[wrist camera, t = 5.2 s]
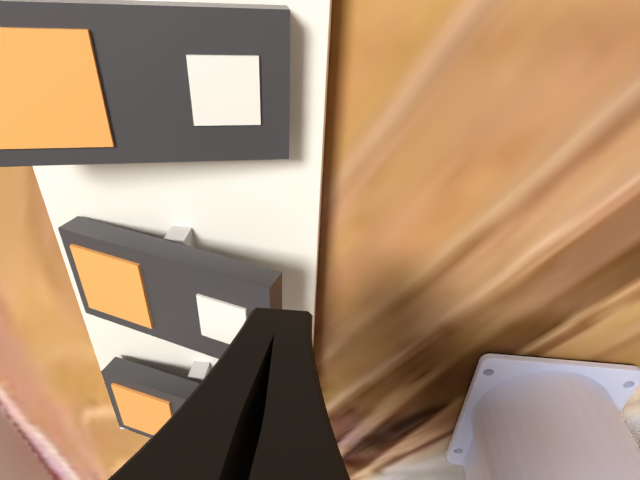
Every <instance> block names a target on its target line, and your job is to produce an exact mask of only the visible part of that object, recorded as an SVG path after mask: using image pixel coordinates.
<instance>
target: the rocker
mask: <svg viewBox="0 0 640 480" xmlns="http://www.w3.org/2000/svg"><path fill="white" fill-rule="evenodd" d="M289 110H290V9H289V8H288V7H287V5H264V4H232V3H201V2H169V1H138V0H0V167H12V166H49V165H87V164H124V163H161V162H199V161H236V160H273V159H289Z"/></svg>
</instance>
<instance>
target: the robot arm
mask: <svg viewBox="0 0 640 480" xmlns="http://www.w3.org/2000/svg"><path fill="white" fill-rule="evenodd" d="M312 317H313V315H312V314H310V313H309V312H308V311H299V310H284V309H270V308H255V309H254V310H252V311H251V313H250V315H249V316H248V318H247V320H246V321H245V323H244V324H243V326H242V327H241V329H240V330H239V332H238V333H237V335H236V336H235V338H234V339H233V341H232V342H231V343H230V345H229V346H228V348H227V349H226V351H225V352H224V353H223V355H222V356H221V357H220V359H219V360H218V361H217V362H216V364H215V365H214V366H213V368H212V369H211V370H210V372H209V373H208V374H207V376H206V377H205V378H204V379H203V381H202V382H201V383H200V384H199V385H198V387H197V388H196V389H195V390H194V391H193V392H192V394H191V395H190V396H189V397H188V398H187V399H186V401H185V402H184V403H183V404H182V405H181V406H180V408H179V409H178V410H177V411H176V412H175V413H174V414H173V416H172V417H171V418H170V419H169V420H168V421H167V422H166V423H165V424H164V425H163V426H162V427H161V428H160V430H159V431H158V432H157V433H156V434H155V435H154V436H153V437H152V438H151V439H150V440H149V441H148V442H147V443H146V444H145V445H144V446H143V447H142V448H141V449H140V450H139V451H138V452H137V453H136V454H135V455H134V456H133V457H132V458H131V459H129V460H128V461H127V462H126V463H125V464H124V465H123V466H122V467H121V468H120V469H119V470H118V471H117V472H116V473H115V474H113V475H112V476H111V477H110V478H109V479H108V480H350V478H349V475H348V473H347V470H346V468H345V465H344V462H343V459H342V457H341V454H340V451H339V448H338V445H337V442H336V439H335V436H334V433H333V430H332V427H331V424H330V420H329V417H328V413H327V410H326V407H325V403H324V399H323V395H322V391H321V387H320V382H319V378H318V374H317V369H316V364H315V358H314V351H313V343H312ZM486 369H488V370H486ZM639 383H640V368H639V367H637V366H632V365H620V364H609V363H597V362H585V361H573V360H562V359H550V358H538V357H526V356H515V355H503V354H485V355H483V356H482V357H481V358H480V359H479V362H478V365H477V368H476V370H475V373H474V376H473V379H472V382H471V384H470V387H469V390H468V393H467V396H466V398H465V401H464V404H463V407H462V410H461V413H460V415H459V418H458V421H457V424H456V427H455V429H454V432H453V435H452V438H451V441H450V443H449V446H448V449H447V452H446V461H447V462H448V463H450V464H453V465H463V468H464V473H465V478H466V480H640V448H639V446H638V444H637V443H636V441H635V439H634V437H633V435H632V434H631V432H630V430H629V428H628V427H627V425H626V423H625V421H624V419H623V418H622V416H621V414H620V411H621V410H622V408H623V407H624V405H625V404H626V402H627V401H628V399H629V398H630V396H631V395H632V393H633V392H634V390H635V389H636V387H637V386H638V384H639Z"/></svg>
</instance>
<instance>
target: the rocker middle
mask: <svg viewBox="0 0 640 480" xmlns="http://www.w3.org/2000/svg"><path fill="white" fill-rule="evenodd" d="M58 230H59V233H60V236H61V239H62V242H63V245H64V248H65V251H66V254H67V257H68V260H69V263H70V266H71V269H72V272H73V276H74V279H75V282H76V285H77V288H78V291H79V294H80V297H81V300H82V303H83V306H84V309H85V312H86V313H88V314H91V315H93V316H96V317H99V318H102V319H105V320H108V321H111V322H114V323H116V324H119V325H122V326H125V327H128V328H131V329H134V330H137V331H139V332H142V333H145V334H148V335H151V336H154V337H157V338H160V339H162V340H165V341H168V342H171V343H174V344H177V345H180V346H183V347H185V348H188V349H191V350H194V351H197V352H200V353H203V354H206V355H208V356H211V357H214V358H217V359H220V357H221V356H222V355H223V353H224V352H225V351H226V349H227V348H228V346H229V345H230V343H231V342H232V341H233V339H234V338H235V336H236V335H237V333H238V332H239V330H240V329H241V327H242V326H243V324H244V323H245V321H246V320H247V318H248V316H249V315H250V313H251V311H252V310H254V309H255V308H270V309H282V272H281V271H277V270H274V269H270V268H266V267H263V266H259V265H255V264H252V263H248V262H244V261H241V260H237V259H233V258H230V257H226V256H223V255H219V254H215V253H212V252H208V251H204V250H201V249H197V248H193V247H190V246H186V245H183V244H179V243H175V242H172V241H168V240H164V239H161V238H157V237H153V236H150V235H146V234H142V233H139V232H135V231H132V230H128V229H124V228H121V227H117V226H113V225H110V224H106V223H102V222H99V221H95V220H91V219H88V218H84V217H81V216H77V217H75V218H74V219H72V220H70V221H69V222H67V223H65V224H63V225H62V226H60V227H58Z"/></svg>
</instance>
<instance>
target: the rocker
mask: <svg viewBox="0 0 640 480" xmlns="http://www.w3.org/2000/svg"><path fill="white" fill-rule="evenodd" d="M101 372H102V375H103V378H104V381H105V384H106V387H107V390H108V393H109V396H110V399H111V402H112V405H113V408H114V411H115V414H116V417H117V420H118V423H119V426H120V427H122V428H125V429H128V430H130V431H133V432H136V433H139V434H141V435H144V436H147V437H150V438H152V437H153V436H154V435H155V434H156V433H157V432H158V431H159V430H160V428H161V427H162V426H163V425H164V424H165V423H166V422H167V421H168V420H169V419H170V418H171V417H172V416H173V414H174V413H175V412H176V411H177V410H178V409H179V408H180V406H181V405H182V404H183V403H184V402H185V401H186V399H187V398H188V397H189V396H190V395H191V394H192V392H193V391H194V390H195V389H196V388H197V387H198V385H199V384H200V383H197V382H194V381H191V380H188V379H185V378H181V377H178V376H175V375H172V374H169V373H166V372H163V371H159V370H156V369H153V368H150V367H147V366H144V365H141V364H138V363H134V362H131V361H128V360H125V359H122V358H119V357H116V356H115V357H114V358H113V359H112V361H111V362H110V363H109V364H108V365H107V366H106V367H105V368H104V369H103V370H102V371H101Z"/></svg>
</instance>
